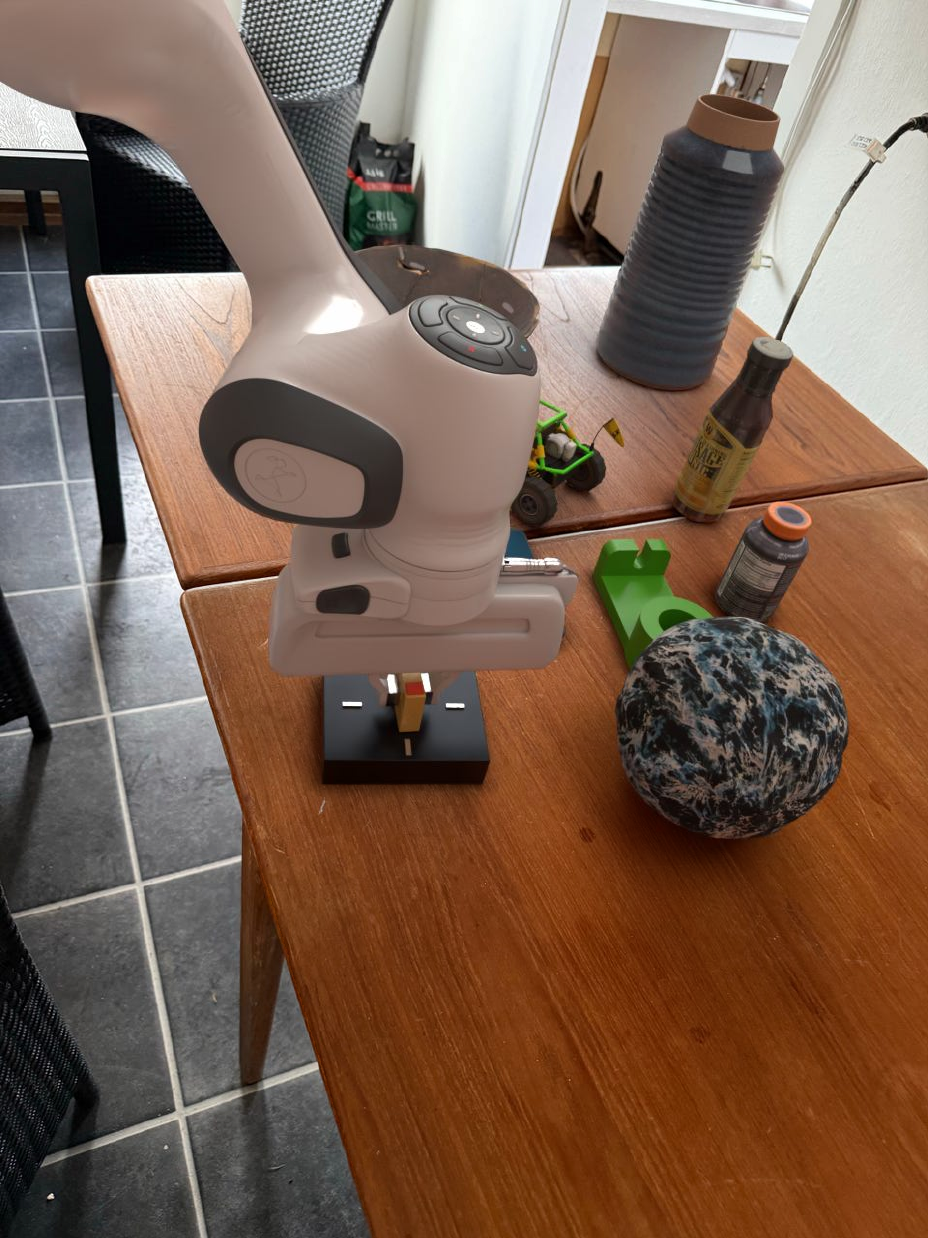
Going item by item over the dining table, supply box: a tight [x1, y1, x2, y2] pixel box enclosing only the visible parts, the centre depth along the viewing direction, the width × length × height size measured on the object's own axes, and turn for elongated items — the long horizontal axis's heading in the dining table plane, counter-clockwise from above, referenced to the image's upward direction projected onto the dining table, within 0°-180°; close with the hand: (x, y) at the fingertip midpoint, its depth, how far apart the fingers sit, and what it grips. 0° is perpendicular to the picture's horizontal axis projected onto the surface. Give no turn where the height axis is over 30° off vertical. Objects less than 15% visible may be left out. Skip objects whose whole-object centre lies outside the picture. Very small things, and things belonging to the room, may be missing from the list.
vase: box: [595, 93, 786, 391], centre depth 110 cm, size 16×16×32 cm
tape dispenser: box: [591, 538, 714, 670], centre depth 80 cm, size 15×7×5 cm, turn 11°
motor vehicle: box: [511, 398, 625, 528], centre depth 91 cm, size 12×19×11 cm, turn 51°
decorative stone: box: [614, 615, 850, 840], centre depth 64 cm, size 16×16×15 cm
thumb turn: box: [391, 673, 426, 732], centre depth 65 cm, size 5×2×4 cm, turn 12°
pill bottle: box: [714, 501, 812, 624], centre depth 82 cm, size 6×6×11 cm
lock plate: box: [320, 671, 491, 785], centre depth 67 cm, size 12×10×3 cm
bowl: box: [354, 244, 541, 340], centre depth 106 cm, size 25×25×10 cm
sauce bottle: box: [671, 336, 794, 524], centre depth 90 cm, size 6×6×20 cm
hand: (405, 698), depth 65 cm, fingers closed on thumb turn
